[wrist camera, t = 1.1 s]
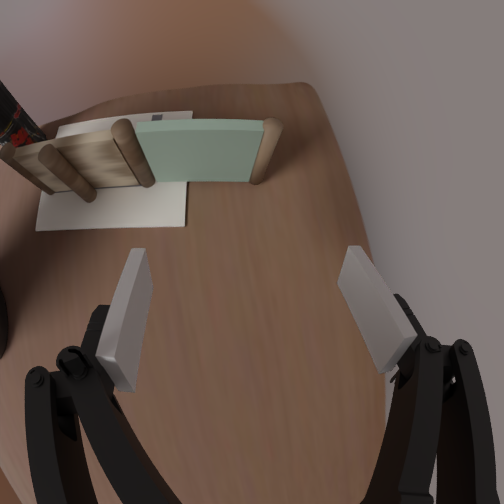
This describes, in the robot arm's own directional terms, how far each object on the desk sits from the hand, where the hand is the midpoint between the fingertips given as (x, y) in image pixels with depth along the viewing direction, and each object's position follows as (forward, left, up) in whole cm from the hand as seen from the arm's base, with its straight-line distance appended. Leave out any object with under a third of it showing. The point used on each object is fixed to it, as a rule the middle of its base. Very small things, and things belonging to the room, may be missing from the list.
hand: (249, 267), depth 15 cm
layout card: (-16, +15, -17) cm, 28 cm away
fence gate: (-3, +13, -17) cm, 21 cm away
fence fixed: (-18, +12, -17) cm, 27 cm away
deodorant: (-32, +21, -18) cm, 42 cm away
